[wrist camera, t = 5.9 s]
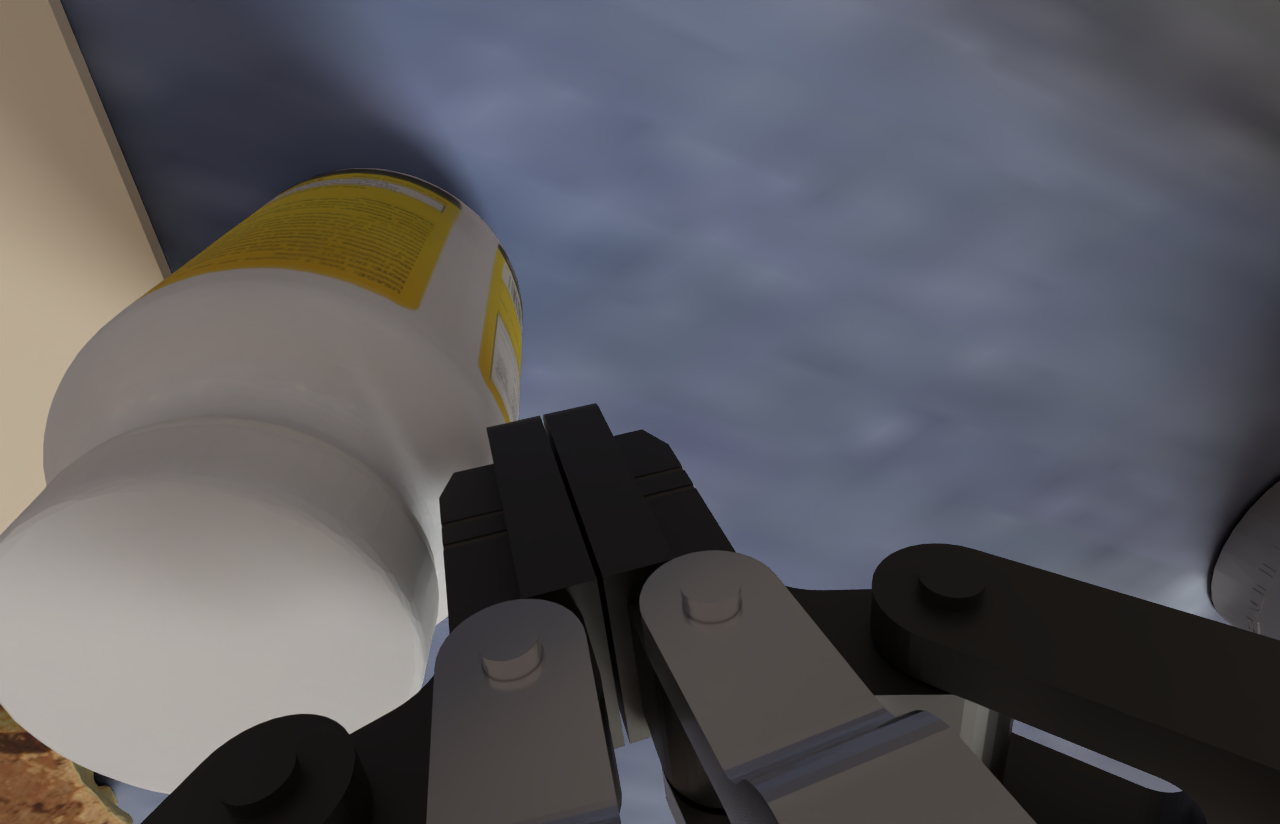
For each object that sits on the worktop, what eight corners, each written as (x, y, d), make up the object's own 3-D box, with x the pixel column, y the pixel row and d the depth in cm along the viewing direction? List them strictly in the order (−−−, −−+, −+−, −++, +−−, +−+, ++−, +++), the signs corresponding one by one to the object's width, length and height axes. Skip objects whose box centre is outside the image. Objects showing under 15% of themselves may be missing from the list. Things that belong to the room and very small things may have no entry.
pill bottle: (186, 222, 17) (-326, 534, 7) (454, 117, 17) (314, 288, 7) (335, 455, 20) (124, 906, 10) (565, 370, 20) (586, 752, 10)
